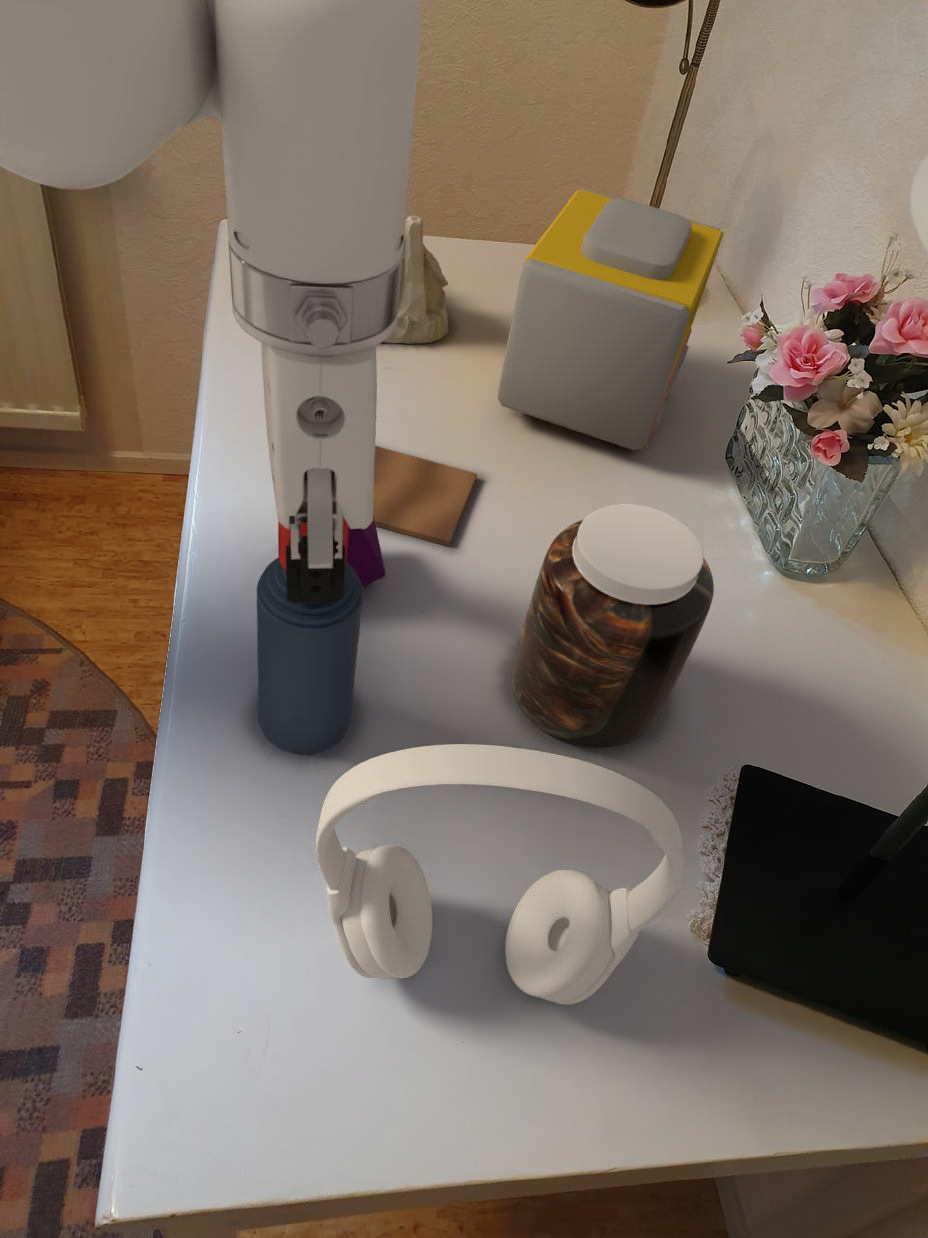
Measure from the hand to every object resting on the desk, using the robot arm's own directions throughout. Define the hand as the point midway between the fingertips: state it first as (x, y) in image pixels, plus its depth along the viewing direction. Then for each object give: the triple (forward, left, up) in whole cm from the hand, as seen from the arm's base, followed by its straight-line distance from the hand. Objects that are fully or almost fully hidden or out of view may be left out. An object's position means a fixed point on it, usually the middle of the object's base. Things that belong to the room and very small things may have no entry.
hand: (313, 569), depth 55 cm
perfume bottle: (-3, +14, -15) cm, 21 cm away
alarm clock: (+13, +49, -15) cm, 53 cm away
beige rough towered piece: (-13, +56, -15) cm, 59 cm away
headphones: (+15, -13, -15) cm, 25 cm away
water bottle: (0, 0, -15) cm, 15 cm away
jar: (+19, +10, -15) cm, 26 cm away
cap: (0, 0, +1) cm, 1 cm away
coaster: (0, +26, -15) cm, 30 cm away
